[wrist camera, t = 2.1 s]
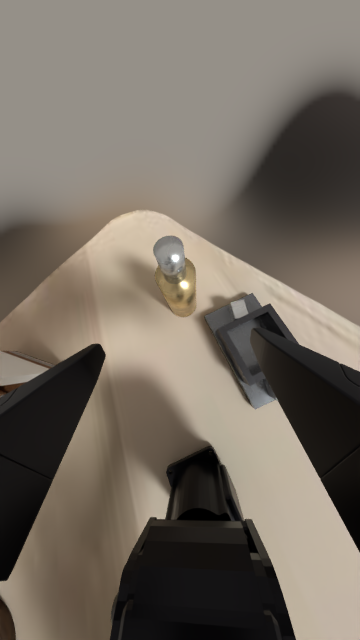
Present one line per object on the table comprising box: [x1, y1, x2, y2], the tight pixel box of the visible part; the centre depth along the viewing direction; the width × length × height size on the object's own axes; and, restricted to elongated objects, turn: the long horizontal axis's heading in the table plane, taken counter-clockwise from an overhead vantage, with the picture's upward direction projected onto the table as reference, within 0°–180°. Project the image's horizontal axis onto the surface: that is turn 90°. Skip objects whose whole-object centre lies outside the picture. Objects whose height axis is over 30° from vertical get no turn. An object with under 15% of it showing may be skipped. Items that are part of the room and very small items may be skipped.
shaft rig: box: [204, 293, 298, 409], centre depth 19 cm, size 8×14×4 cm, turn 25°
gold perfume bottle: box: [153, 236, 196, 317], centre depth 17 cm, size 4×4×12 cm
